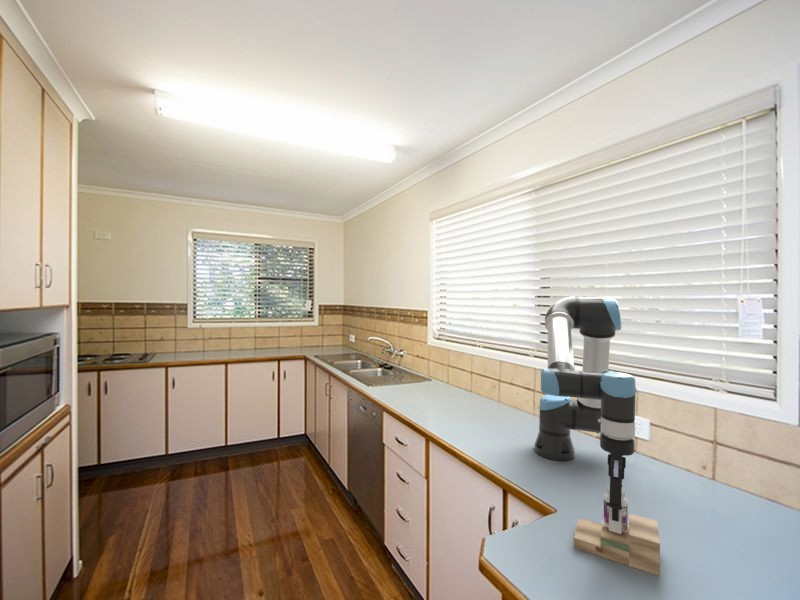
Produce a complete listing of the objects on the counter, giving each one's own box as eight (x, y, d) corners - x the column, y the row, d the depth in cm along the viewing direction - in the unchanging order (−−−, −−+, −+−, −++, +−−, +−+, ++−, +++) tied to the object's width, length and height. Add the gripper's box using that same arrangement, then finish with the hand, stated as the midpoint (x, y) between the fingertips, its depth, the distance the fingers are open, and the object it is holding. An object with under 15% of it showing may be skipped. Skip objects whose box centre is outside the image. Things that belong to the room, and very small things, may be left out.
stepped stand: (578, 526, 104) (578, 499, 104) (656, 550, 95) (657, 521, 94) (573, 548, 95) (574, 519, 95) (659, 576, 86) (660, 544, 86)
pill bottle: (605, 516, 99) (606, 481, 99) (629, 524, 95) (629, 487, 95) (601, 526, 95) (602, 489, 94) (625, 535, 91) (626, 496, 91)
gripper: (602, 421, 104) (601, 502, 105) (597, 444, 88) (596, 540, 89) (634, 426, 100) (632, 511, 101) (635, 451, 85) (633, 552, 85)
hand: (615, 524), depth 95 cm, fingers closed on pill bottle, 5 cm apart
